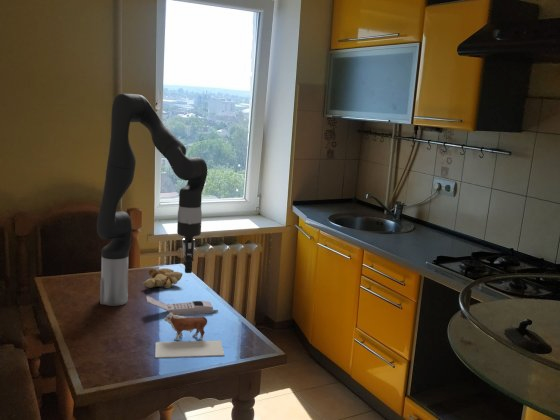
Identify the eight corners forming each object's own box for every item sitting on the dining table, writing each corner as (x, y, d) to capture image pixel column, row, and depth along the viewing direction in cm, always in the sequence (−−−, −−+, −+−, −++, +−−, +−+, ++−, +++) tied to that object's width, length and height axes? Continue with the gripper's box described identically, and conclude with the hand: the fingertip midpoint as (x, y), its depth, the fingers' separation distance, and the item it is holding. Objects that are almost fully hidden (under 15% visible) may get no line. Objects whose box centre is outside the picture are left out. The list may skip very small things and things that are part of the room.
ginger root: (180, 274, 227) (180, 258, 224) (183, 295, 214) (183, 278, 210) (142, 276, 223) (142, 259, 220) (143, 298, 210) (142, 280, 206)
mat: (155, 358, 155) (155, 357, 155) (155, 343, 164) (155, 342, 164) (224, 355, 159) (224, 354, 159) (220, 341, 169) (220, 340, 169)
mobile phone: (145, 295, 188) (215, 292, 196) (145, 311, 189) (215, 307, 197) (146, 301, 182) (219, 298, 190) (146, 318, 184) (218, 313, 191)
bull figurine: (164, 334, 171) (164, 310, 169) (206, 336, 172) (207, 312, 170) (162, 340, 166) (163, 315, 165) (206, 341, 168) (207, 317, 166)
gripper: (177, 215, 177) (175, 262, 180) (178, 224, 163) (176, 275, 166) (200, 215, 179) (198, 262, 182) (202, 225, 165) (200, 275, 168)
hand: (187, 268), depth 174 cm, fingers open, 8 cm apart
